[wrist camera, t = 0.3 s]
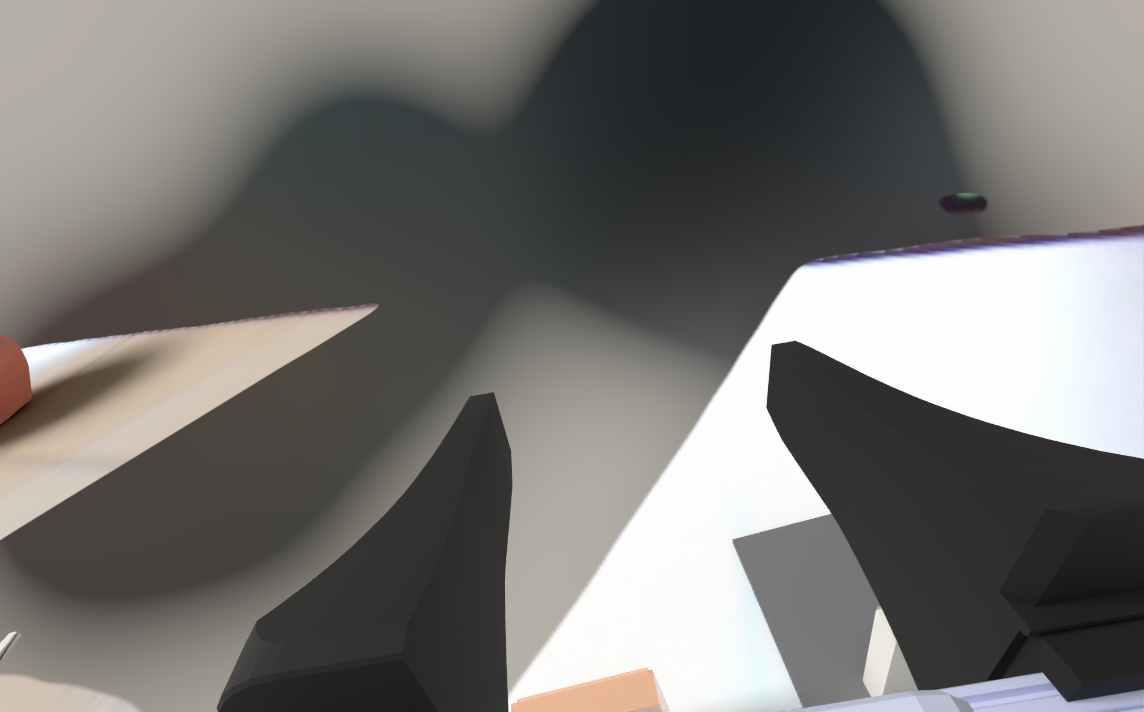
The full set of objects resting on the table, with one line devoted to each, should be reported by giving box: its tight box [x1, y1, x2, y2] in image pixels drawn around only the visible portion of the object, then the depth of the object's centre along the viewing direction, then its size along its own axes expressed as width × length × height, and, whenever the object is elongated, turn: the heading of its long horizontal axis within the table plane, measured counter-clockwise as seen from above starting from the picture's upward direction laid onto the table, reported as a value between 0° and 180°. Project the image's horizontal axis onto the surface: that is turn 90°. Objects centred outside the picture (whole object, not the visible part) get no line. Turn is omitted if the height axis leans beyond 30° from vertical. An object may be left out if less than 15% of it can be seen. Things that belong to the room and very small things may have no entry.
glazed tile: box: [863, 606, 918, 697], centre depth 20 cm, size 1×6×7 cm, turn 96°
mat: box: [733, 514, 880, 708], centre depth 24 cm, size 13×12×1 cm
